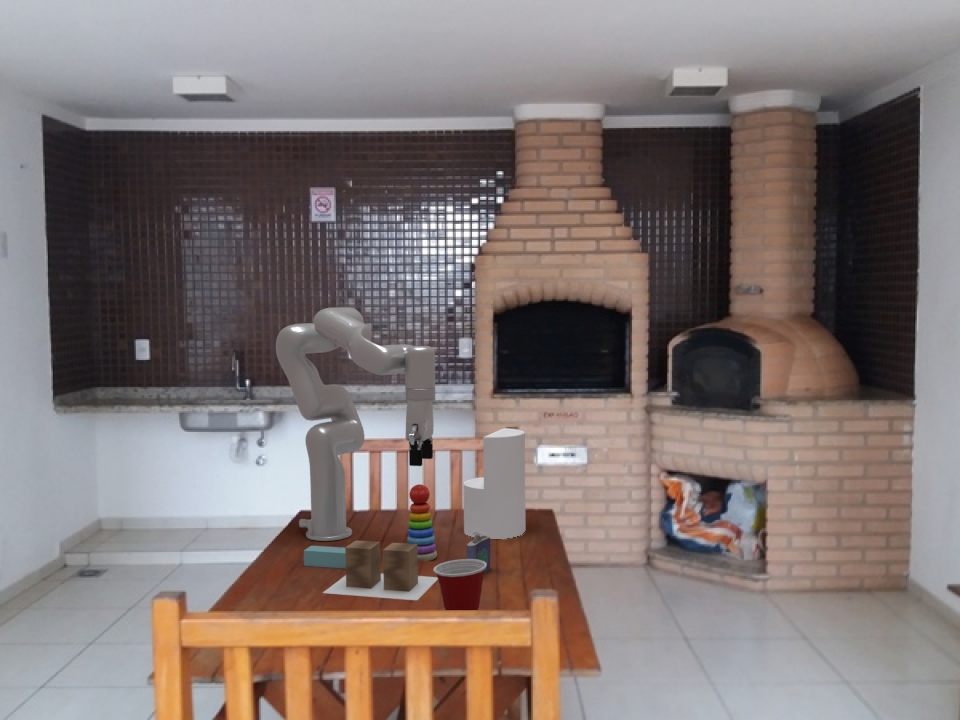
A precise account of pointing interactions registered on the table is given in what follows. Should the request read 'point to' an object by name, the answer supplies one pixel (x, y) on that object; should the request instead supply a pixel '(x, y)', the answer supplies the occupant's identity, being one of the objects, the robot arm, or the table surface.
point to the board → (379, 591)
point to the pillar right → (400, 567)
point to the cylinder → (498, 488)
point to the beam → (325, 557)
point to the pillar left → (363, 564)
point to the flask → (479, 549)
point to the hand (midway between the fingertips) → (421, 462)
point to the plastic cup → (461, 583)
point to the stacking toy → (421, 524)
